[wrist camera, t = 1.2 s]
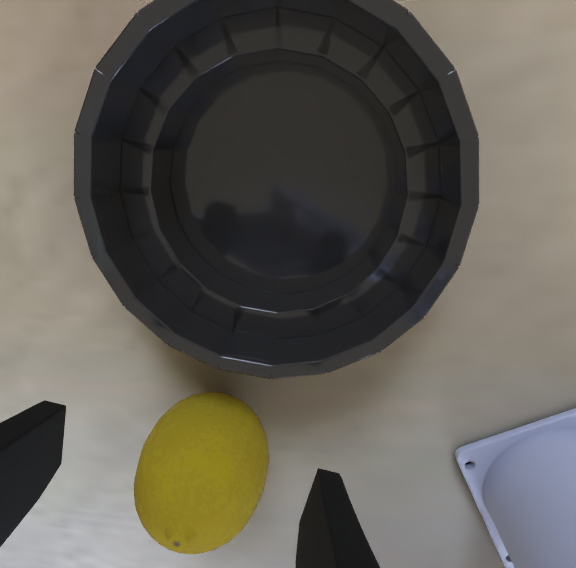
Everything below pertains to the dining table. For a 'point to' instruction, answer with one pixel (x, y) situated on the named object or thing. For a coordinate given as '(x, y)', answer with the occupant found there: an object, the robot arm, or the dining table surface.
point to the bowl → (276, 178)
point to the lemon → (201, 473)
